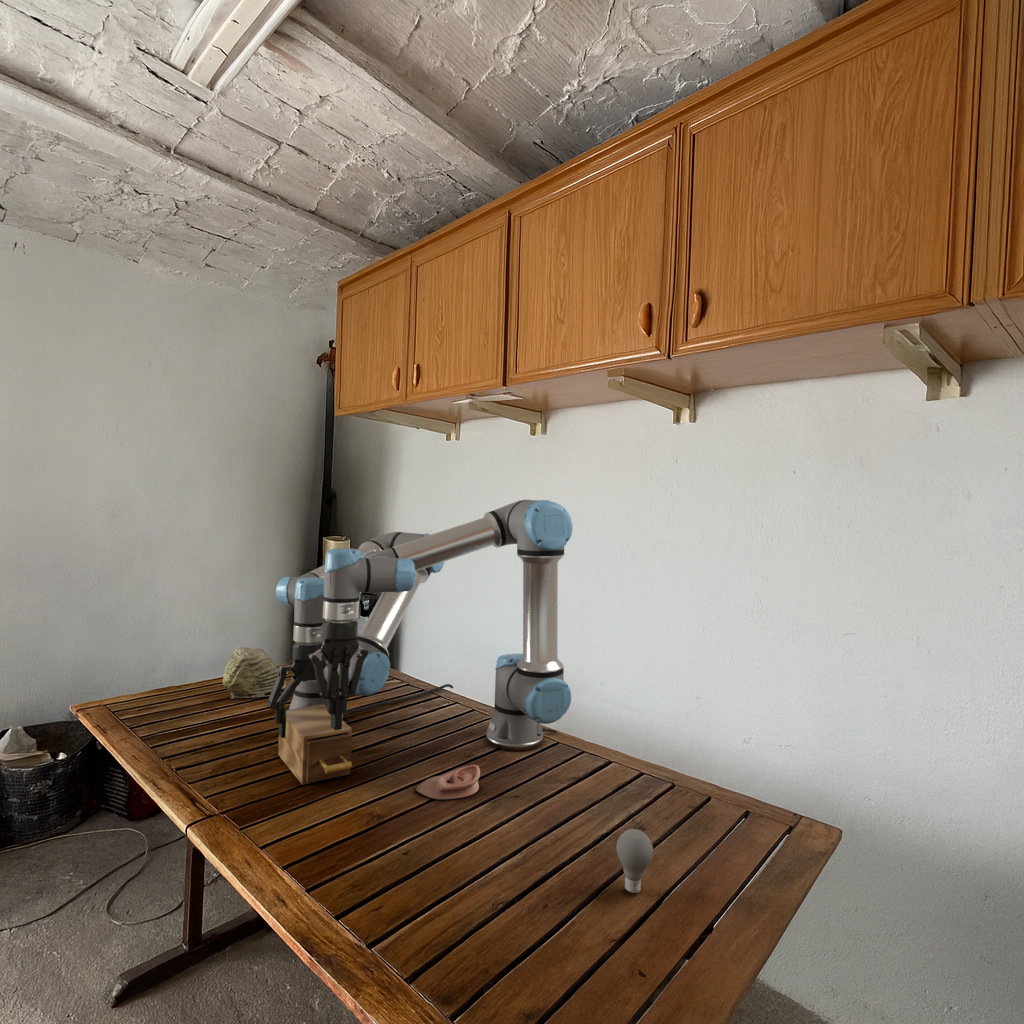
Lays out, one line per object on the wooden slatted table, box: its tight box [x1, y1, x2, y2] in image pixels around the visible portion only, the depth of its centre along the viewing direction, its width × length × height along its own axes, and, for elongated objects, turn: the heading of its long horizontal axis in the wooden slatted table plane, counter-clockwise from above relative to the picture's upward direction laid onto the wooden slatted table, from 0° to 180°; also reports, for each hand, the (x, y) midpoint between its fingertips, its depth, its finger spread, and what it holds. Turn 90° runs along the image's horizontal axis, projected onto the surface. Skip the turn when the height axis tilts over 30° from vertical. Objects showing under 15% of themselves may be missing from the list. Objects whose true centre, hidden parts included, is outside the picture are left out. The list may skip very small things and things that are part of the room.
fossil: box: [222, 646, 288, 699], centre depth 198 cm, size 9×18×15 cm, turn 132°
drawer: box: [306, 733, 353, 784], centre depth 145 cm, size 23×10×9 cm, turn 36°
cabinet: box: [277, 704, 353, 786], centre depth 149 cm, size 19×11×11 cm, turn 36°
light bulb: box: [615, 828, 654, 894], centre depth 106 cm, size 6×6×10 cm
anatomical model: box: [415, 764, 481, 800], centre depth 140 cm, size 13×4×12 cm
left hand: (306, 731), depth 154 cm, fingers closed on cabinet, 11 cm apart
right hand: (336, 727), depth 138 cm, fingers closed
